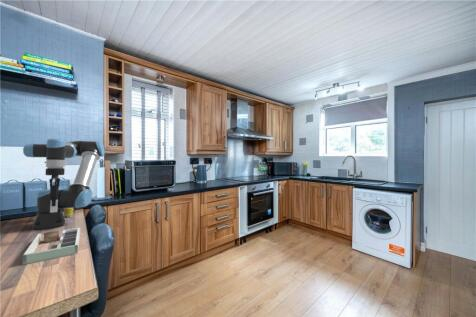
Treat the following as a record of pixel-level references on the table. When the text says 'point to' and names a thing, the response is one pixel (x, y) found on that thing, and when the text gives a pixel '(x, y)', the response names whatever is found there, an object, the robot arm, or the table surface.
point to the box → (66, 247)
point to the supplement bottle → (68, 212)
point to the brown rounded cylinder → (51, 237)
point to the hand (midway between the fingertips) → (53, 212)
